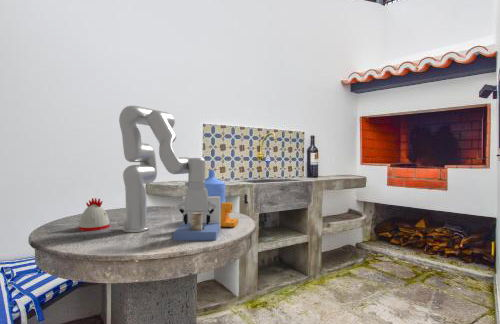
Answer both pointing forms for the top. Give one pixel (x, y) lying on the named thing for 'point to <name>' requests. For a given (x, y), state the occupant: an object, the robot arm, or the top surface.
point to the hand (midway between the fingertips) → (196, 223)
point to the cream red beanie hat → (94, 217)
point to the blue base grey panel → (209, 230)
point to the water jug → (215, 187)
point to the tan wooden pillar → (196, 221)
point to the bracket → (227, 215)
